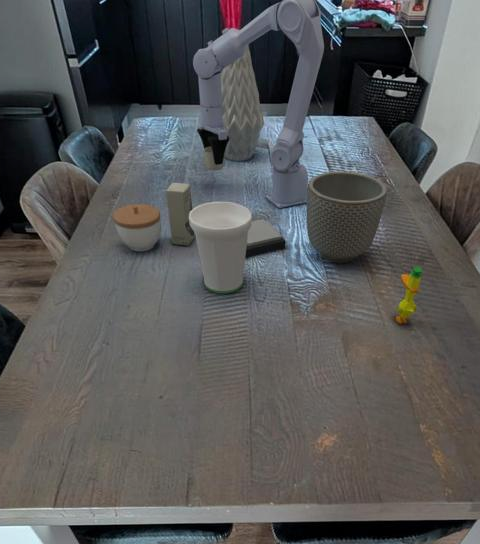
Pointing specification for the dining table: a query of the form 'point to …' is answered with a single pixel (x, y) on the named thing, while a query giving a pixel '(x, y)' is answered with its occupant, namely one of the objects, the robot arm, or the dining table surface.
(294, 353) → the dining table surface
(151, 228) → the trinket box
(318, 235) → the planter
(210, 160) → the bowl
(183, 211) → the box
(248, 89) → the vase
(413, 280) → the toy figure
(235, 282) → the cup
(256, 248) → the scale
